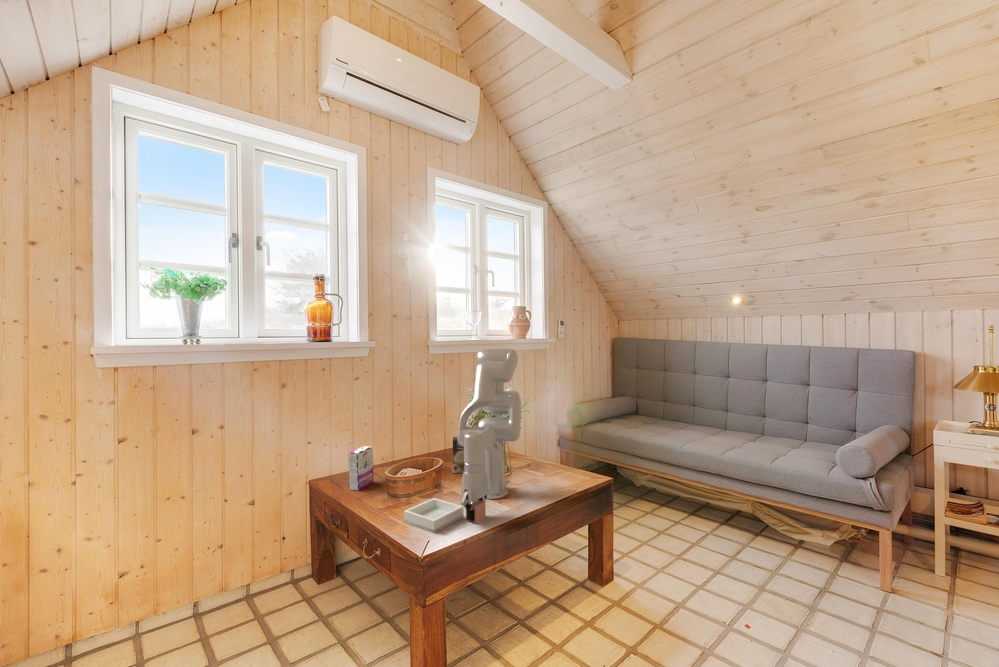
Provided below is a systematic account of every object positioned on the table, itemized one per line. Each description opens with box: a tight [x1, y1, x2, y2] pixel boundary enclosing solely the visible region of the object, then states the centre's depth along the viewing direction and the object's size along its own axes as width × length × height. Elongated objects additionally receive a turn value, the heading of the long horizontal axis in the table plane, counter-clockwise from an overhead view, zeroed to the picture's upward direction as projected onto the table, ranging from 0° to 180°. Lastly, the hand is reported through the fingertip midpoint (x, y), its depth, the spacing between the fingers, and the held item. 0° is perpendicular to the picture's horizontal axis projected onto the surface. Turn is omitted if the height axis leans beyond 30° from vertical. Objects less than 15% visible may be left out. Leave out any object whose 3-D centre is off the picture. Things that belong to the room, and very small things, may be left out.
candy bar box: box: [348, 445, 374, 491], centre depth 198 cm, size 11×5×16 cm, turn 161°
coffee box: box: [452, 436, 465, 474], centre depth 215 cm, size 9×6×16 cm
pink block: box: [465, 500, 487, 524], centre depth 161 cm, size 5×5×6 cm
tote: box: [403, 497, 465, 534], centre depth 161 cm, size 15×15×4 cm
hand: (475, 516), depth 161 cm, fingers closed on pink block, 5 cm apart
